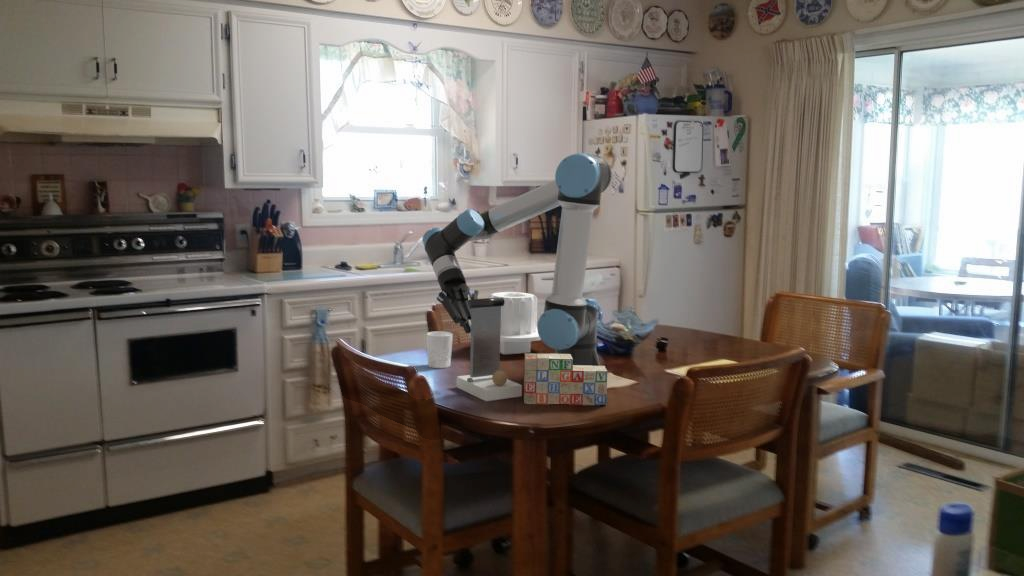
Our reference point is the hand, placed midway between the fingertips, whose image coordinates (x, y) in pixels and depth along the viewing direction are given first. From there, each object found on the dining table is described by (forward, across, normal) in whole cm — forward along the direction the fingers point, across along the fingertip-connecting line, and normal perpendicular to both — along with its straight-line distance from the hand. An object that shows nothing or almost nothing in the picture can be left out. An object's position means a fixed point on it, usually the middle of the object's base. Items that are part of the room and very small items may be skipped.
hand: (476, 341), depth 227 cm
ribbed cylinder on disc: (-16, -34, -34) cm, 51 cm away
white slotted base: (+14, 0, -4) cm, 14 cm away
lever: (+9, 0, -3) cm, 10 cm away
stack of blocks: (+26, -13, +8) cm, 30 cm away
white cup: (-9, -2, -27) cm, 29 cm away
